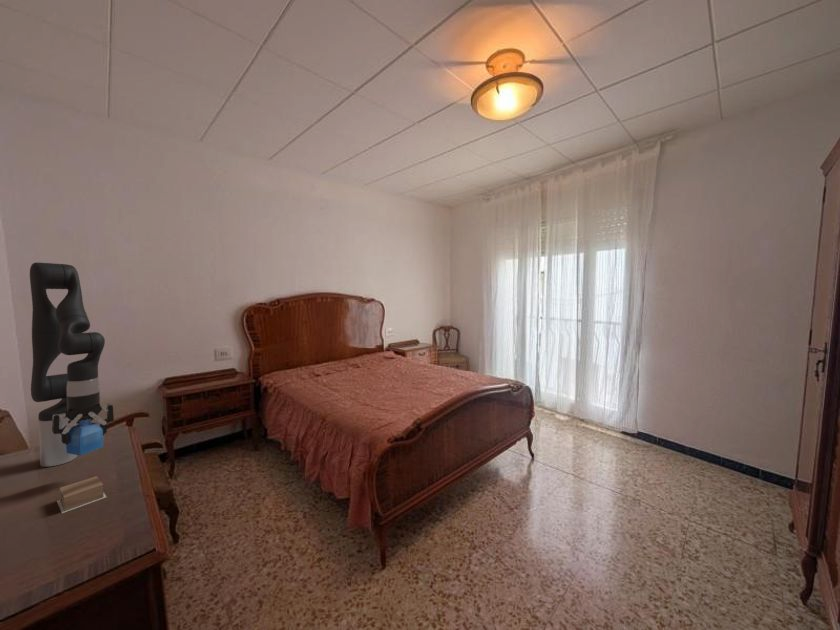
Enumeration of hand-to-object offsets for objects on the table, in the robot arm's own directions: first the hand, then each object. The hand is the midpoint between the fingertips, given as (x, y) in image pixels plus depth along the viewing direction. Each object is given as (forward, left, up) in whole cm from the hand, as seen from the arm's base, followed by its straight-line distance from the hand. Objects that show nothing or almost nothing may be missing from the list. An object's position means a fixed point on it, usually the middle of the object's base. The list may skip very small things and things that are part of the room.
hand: (84, 439), depth 106 cm
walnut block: (+14, -3, -14) cm, 20 cm away
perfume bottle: (0, 0, -4) cm, 4 cm away
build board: (+14, -3, -15) cm, 21 cm away
